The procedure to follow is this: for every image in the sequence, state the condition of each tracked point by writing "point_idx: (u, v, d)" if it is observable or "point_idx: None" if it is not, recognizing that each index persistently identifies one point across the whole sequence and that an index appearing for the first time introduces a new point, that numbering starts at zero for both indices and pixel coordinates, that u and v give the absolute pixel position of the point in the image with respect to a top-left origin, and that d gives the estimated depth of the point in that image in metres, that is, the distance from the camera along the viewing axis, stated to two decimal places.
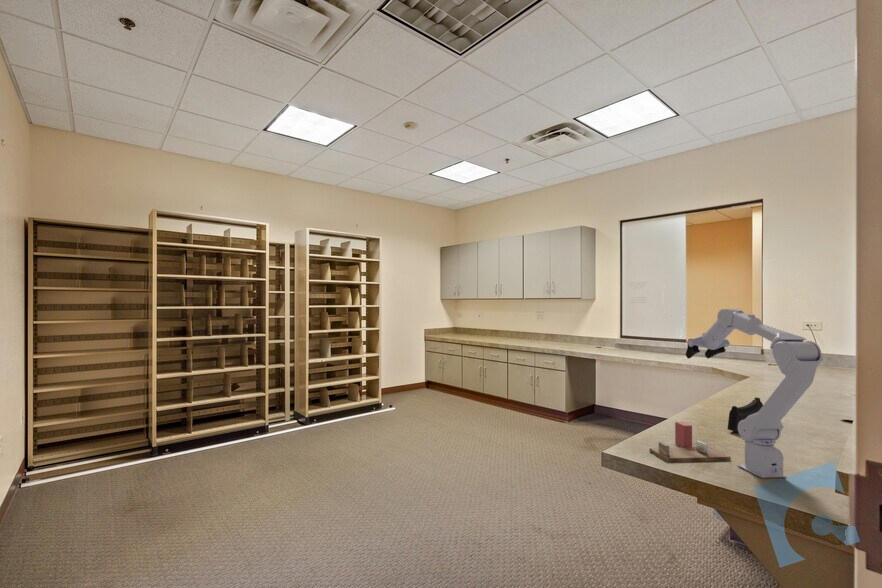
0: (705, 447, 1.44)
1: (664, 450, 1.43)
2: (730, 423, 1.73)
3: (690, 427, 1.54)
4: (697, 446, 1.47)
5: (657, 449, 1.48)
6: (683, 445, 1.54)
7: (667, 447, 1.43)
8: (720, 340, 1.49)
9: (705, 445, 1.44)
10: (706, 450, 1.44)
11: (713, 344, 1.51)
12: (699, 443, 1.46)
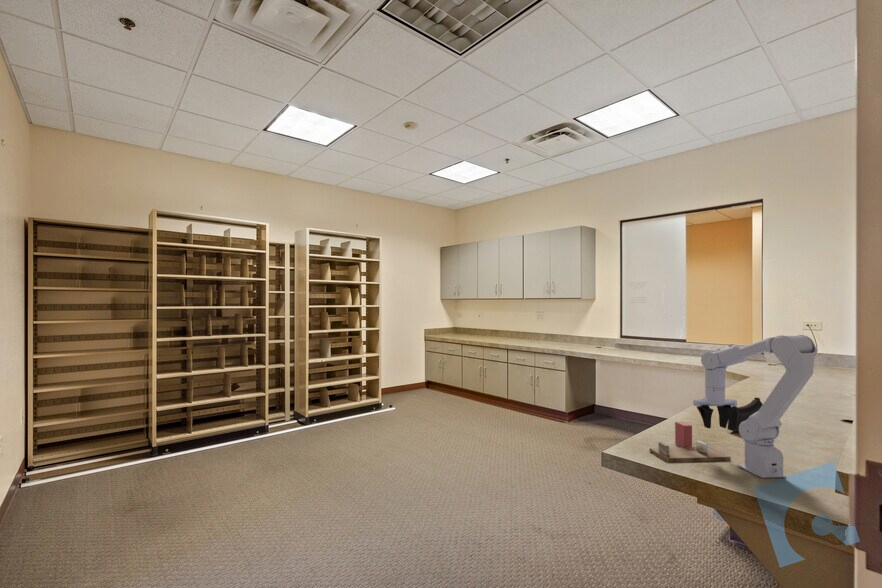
0: (705, 447, 1.44)
1: (664, 450, 1.43)
2: (730, 423, 1.73)
3: (690, 427, 1.54)
4: (697, 446, 1.47)
5: (657, 449, 1.48)
6: (683, 445, 1.54)
7: (667, 447, 1.43)
8: (720, 388, 1.44)
9: (705, 445, 1.44)
10: (706, 450, 1.44)
11: (717, 395, 1.44)
12: (699, 443, 1.46)
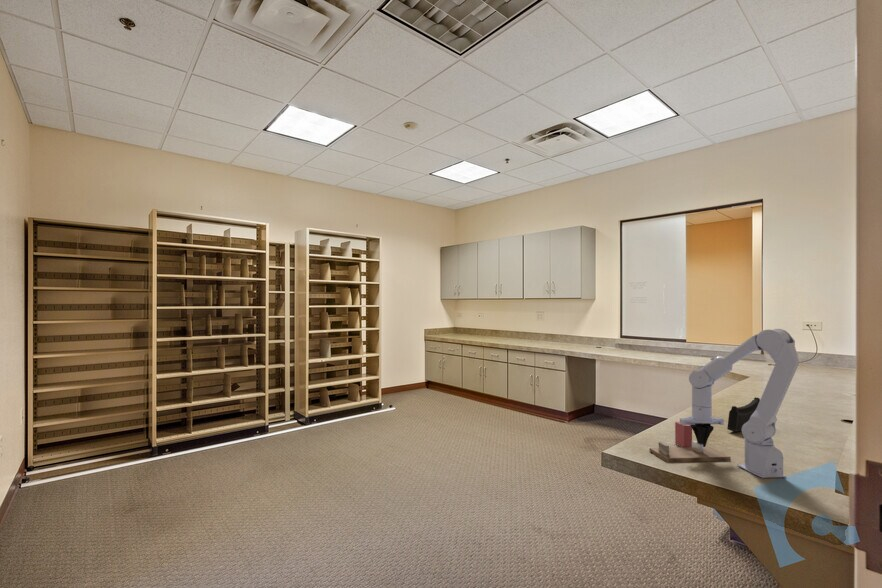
0: (701, 447, 1.44)
1: (664, 450, 1.43)
2: (730, 423, 1.73)
3: (690, 427, 1.54)
4: (693, 446, 1.47)
5: (657, 449, 1.48)
6: (683, 445, 1.54)
7: (667, 447, 1.43)
8: (707, 407, 1.44)
9: (701, 445, 1.44)
10: (702, 450, 1.44)
11: (703, 414, 1.44)
12: (695, 443, 1.46)
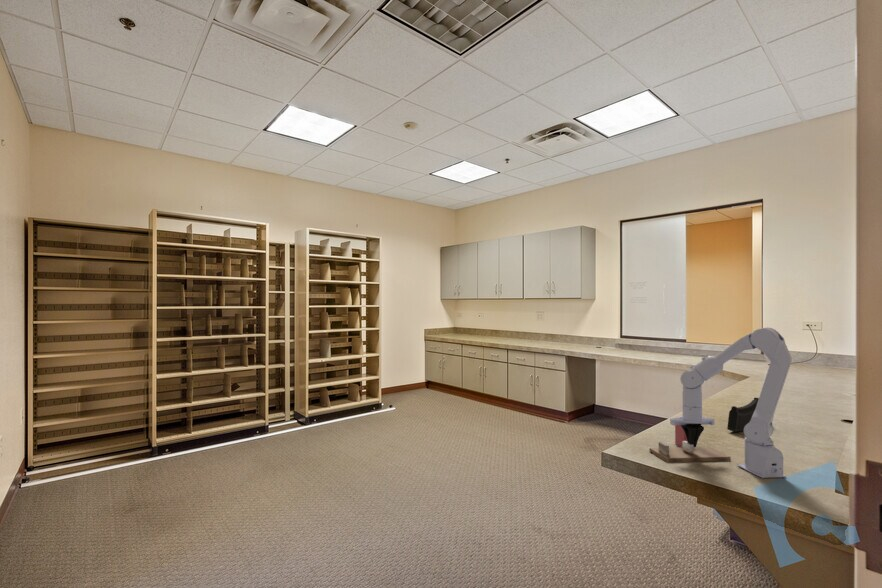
0: (691, 447, 1.44)
1: (664, 450, 1.43)
2: (730, 423, 1.73)
3: None
4: (684, 446, 1.47)
5: (657, 449, 1.48)
6: None
7: (667, 447, 1.43)
8: (697, 407, 1.43)
9: (691, 445, 1.44)
10: (692, 450, 1.44)
11: (694, 414, 1.43)
12: (685, 443, 1.46)
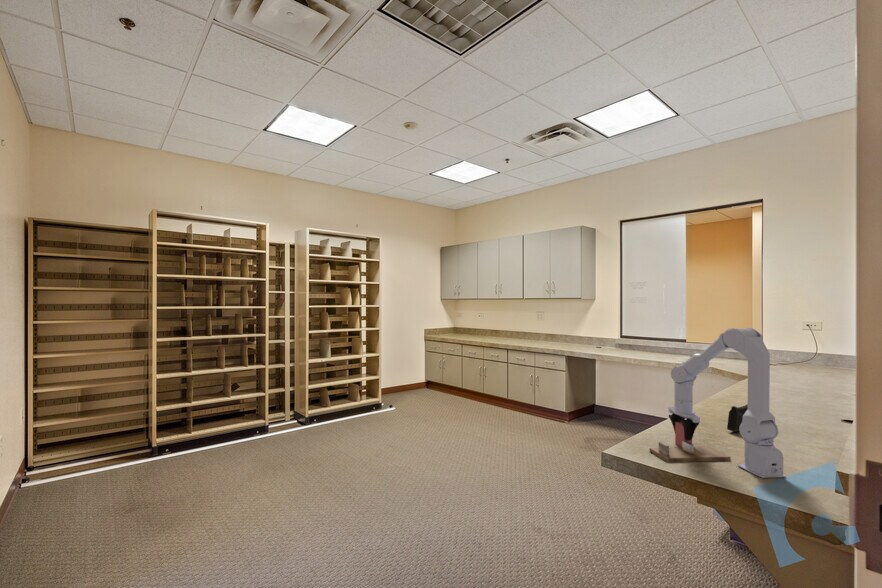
0: (691, 447, 1.44)
1: (664, 450, 1.43)
2: (730, 423, 1.73)
3: None
4: (684, 446, 1.47)
5: (657, 449, 1.48)
6: None
7: (667, 447, 1.43)
8: (675, 399, 1.56)
9: (691, 445, 1.44)
10: (692, 450, 1.44)
11: None
12: (685, 443, 1.46)
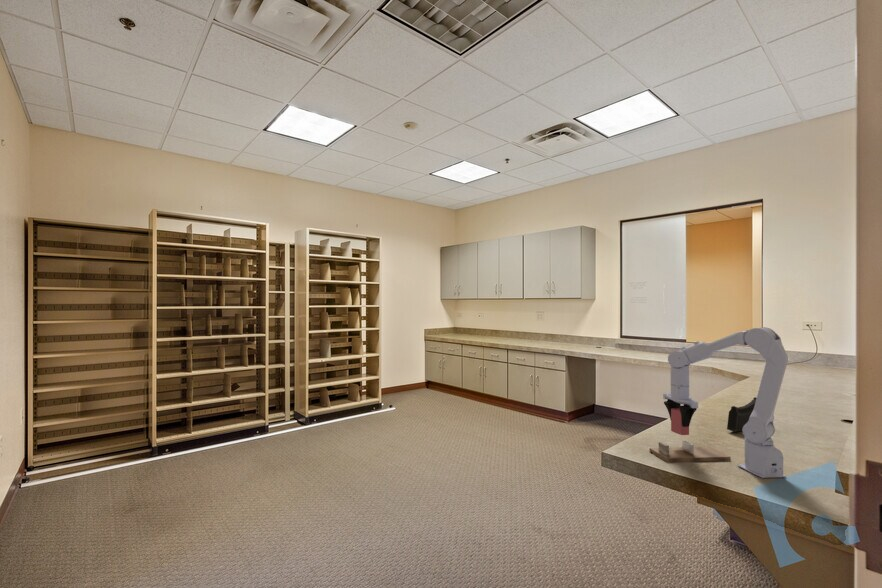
0: (691, 447, 1.44)
1: (664, 450, 1.43)
2: (729, 423, 1.73)
3: None
4: (684, 446, 1.47)
5: (657, 449, 1.48)
6: (680, 432, 1.48)
7: (667, 447, 1.43)
8: (672, 385, 1.50)
9: (691, 445, 1.44)
10: (692, 450, 1.44)
11: None
12: (685, 443, 1.46)
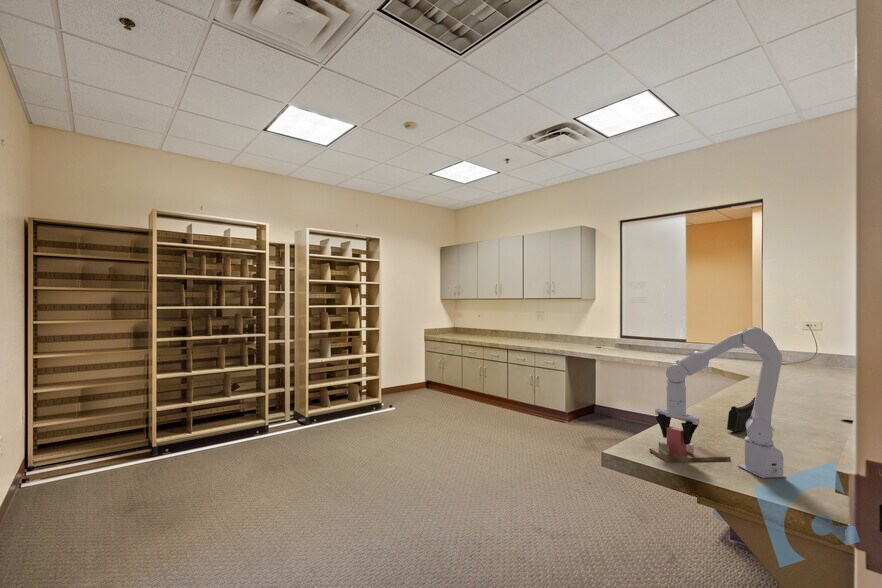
0: (691, 447, 1.44)
1: (664, 450, 1.43)
2: (729, 423, 1.73)
3: None
4: None
5: (657, 449, 1.48)
6: (679, 452, 1.43)
7: (667, 447, 1.43)
8: (670, 400, 1.44)
9: (691, 445, 1.44)
10: (692, 450, 1.44)
11: (668, 406, 1.45)
12: None
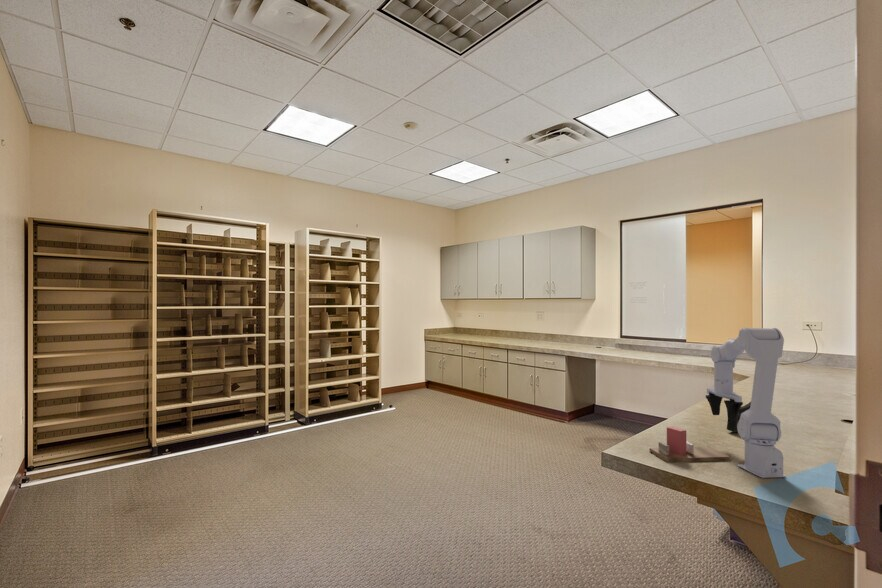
0: (691, 447, 1.44)
1: (664, 450, 1.43)
2: (729, 423, 1.73)
3: (685, 432, 1.43)
4: None
5: (657, 449, 1.48)
6: (679, 452, 1.43)
7: (667, 447, 1.43)
8: (715, 379, 1.56)
9: (691, 445, 1.44)
10: (692, 450, 1.44)
11: (714, 385, 1.57)
12: None
